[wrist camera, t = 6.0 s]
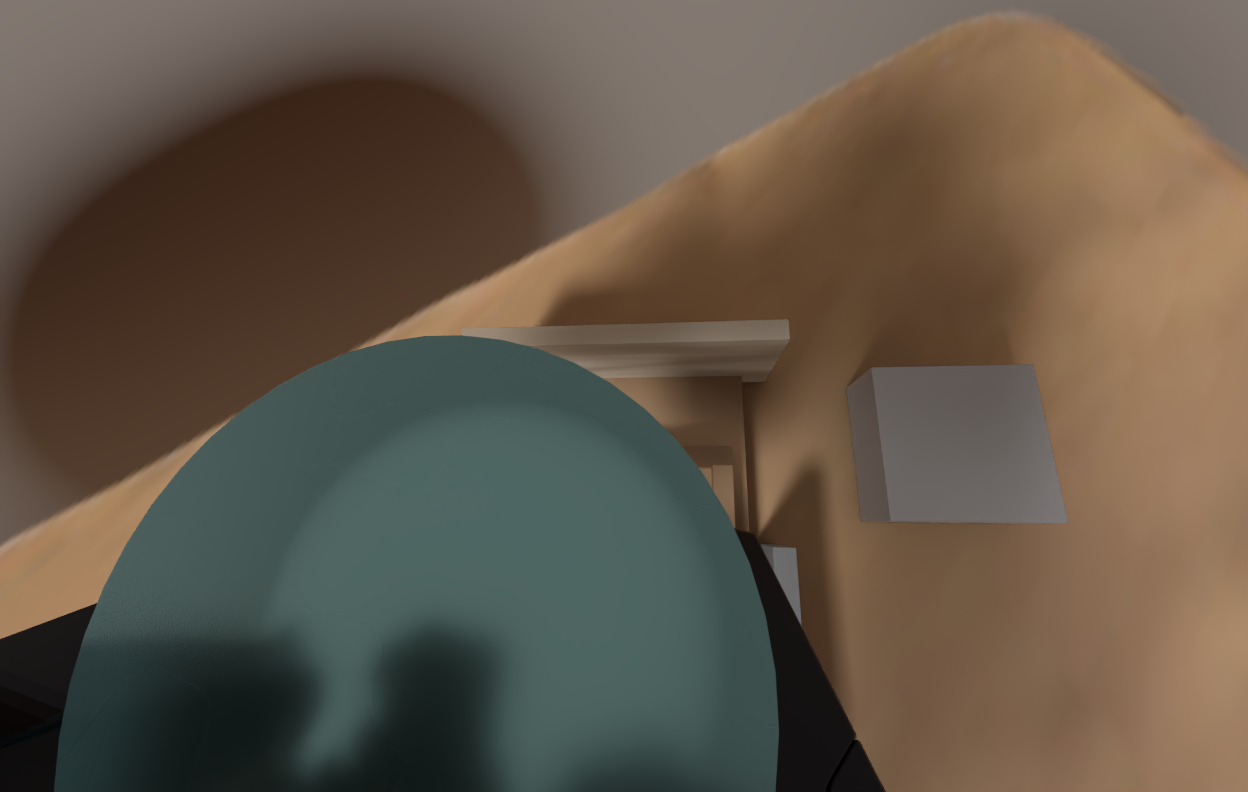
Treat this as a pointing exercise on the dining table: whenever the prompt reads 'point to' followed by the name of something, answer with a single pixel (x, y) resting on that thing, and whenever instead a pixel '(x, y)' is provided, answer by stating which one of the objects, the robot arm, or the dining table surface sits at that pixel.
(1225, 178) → the dining table surface
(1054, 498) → the block
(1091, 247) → the dining table surface
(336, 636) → the teal cylinder
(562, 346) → the beige piece
